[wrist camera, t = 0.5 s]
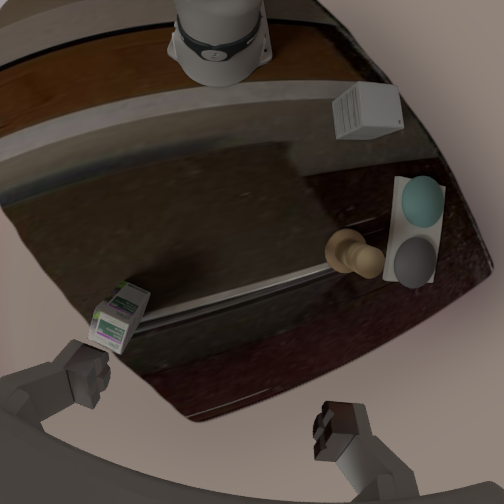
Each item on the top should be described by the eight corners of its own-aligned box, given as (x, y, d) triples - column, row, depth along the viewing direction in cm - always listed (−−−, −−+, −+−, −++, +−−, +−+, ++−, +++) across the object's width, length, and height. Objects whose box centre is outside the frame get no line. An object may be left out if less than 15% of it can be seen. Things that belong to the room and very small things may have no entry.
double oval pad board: (395, 171, 55) (402, 170, 52) (441, 181, 56) (449, 181, 53) (381, 283, 59) (388, 287, 56) (427, 285, 60) (434, 288, 57)
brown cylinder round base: (327, 226, 56) (351, 234, 45) (366, 230, 57) (396, 239, 46) (321, 270, 57) (343, 287, 46) (361, 272, 58) (388, 289, 47)
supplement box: (366, 103, 52) (399, 84, 40) (370, 140, 54) (405, 129, 41) (330, 101, 52) (357, 79, 39) (334, 139, 53) (363, 126, 41)
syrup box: (151, 292, 55) (130, 323, 41) (142, 319, 56) (120, 356, 42) (123, 279, 54) (94, 306, 40) (115, 307, 55) (86, 340, 41)
